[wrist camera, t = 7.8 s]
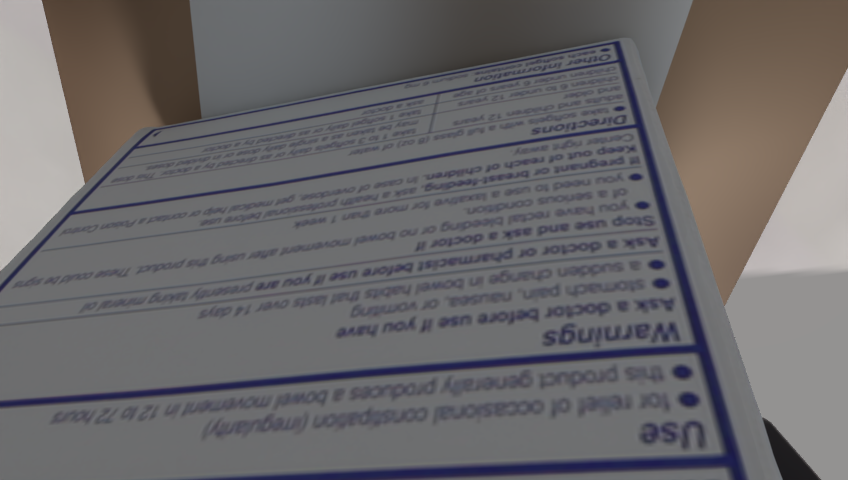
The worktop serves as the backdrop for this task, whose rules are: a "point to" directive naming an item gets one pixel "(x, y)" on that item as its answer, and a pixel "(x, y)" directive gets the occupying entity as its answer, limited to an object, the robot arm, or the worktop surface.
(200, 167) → the medicine box
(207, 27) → the brown open-top box
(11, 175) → the worktop surface
